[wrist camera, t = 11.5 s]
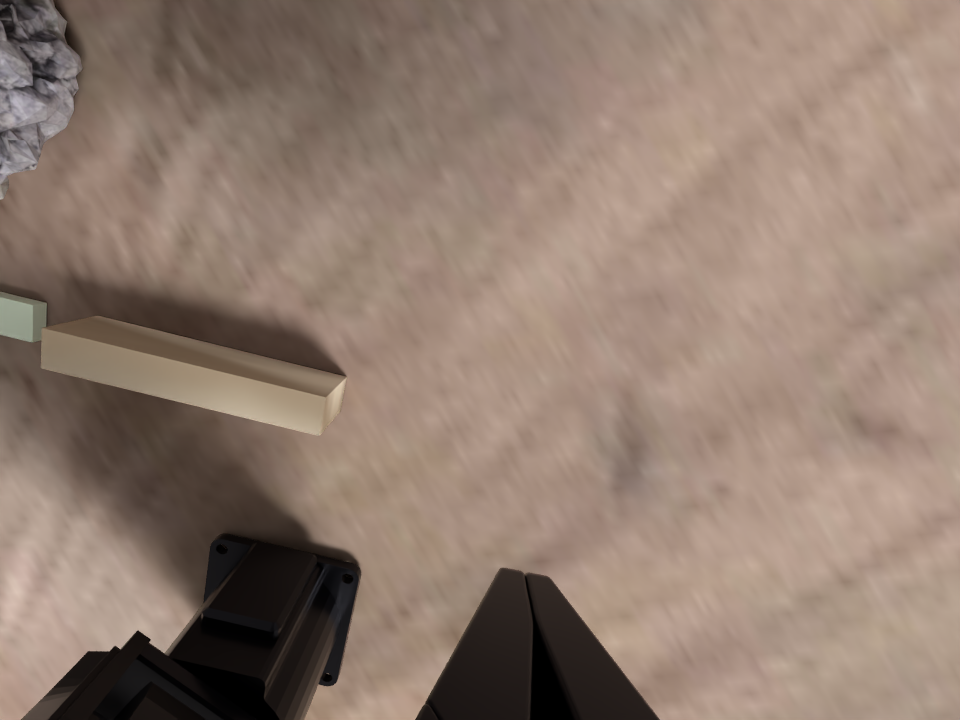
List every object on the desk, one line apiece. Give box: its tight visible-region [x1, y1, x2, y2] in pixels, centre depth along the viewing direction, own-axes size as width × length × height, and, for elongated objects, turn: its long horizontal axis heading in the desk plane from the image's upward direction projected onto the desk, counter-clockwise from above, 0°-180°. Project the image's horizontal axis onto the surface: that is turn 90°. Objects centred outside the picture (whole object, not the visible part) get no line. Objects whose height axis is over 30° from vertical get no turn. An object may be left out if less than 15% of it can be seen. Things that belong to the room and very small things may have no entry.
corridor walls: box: [41, 315, 347, 436], centre depth 17 cm, size 20×10×2 cm, turn 166°
